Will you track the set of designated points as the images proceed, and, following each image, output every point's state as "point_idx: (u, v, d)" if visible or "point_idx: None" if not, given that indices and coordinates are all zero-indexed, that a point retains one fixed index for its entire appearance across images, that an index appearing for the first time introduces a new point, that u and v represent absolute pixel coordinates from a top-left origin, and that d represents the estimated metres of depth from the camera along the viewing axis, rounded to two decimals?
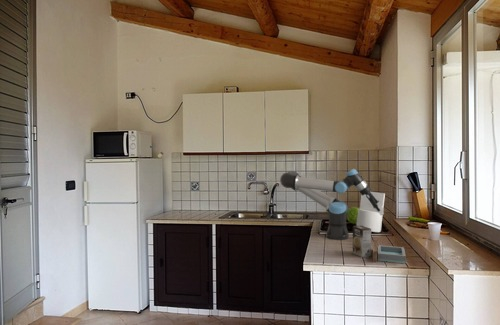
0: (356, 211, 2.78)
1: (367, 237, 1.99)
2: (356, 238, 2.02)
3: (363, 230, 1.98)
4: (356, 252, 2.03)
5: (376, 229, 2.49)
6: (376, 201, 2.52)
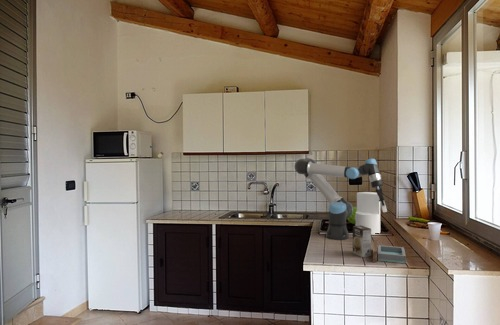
0: (356, 211, 2.78)
1: (367, 237, 1.99)
2: (356, 238, 2.02)
3: (363, 230, 1.98)
4: (356, 252, 2.03)
5: (375, 231, 2.49)
6: (383, 200, 2.41)
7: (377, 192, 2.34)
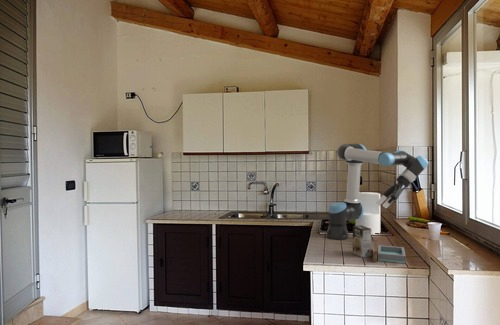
0: None
1: (367, 237, 1.99)
2: (356, 238, 2.02)
3: (363, 230, 1.98)
4: (356, 252, 2.03)
5: (375, 231, 2.49)
6: (387, 195, 2.11)
7: (396, 188, 2.01)
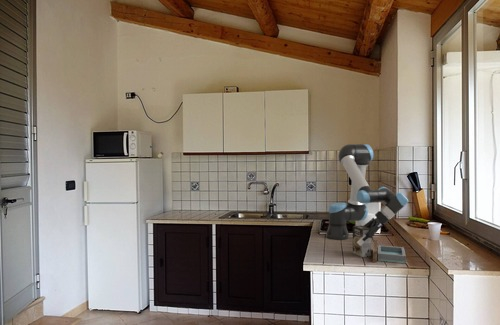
0: None
1: None
2: (356, 238, 2.02)
3: (363, 230, 1.98)
4: (356, 252, 2.03)
5: None
6: None
7: (373, 225, 1.99)
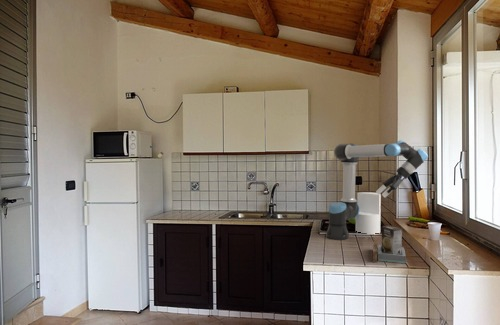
0: None
1: (397, 237, 1.93)
2: (386, 239, 1.96)
3: (394, 230, 1.92)
4: (386, 253, 1.97)
5: (375, 231, 2.49)
6: (387, 185, 2.23)
7: (395, 179, 2.12)
